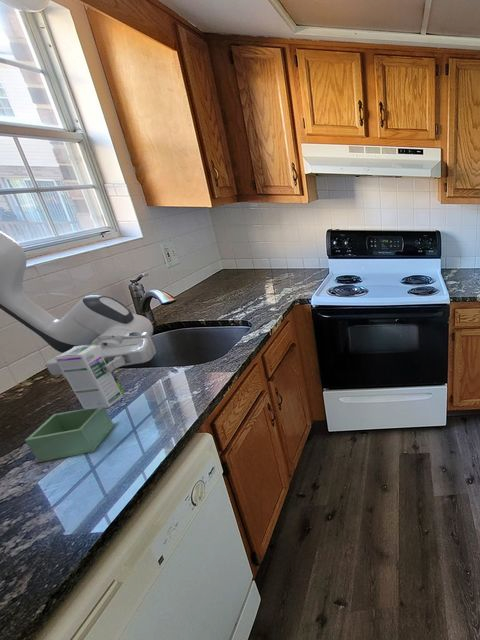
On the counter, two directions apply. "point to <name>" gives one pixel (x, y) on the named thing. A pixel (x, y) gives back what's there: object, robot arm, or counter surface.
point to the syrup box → (90, 376)
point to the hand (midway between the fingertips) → (86, 372)
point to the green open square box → (70, 434)
